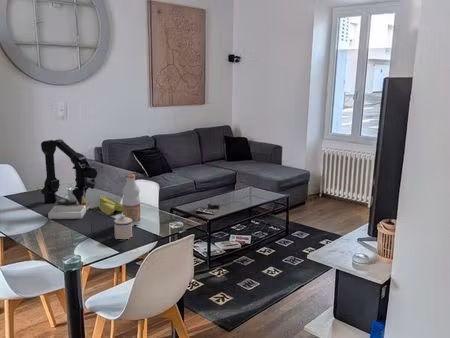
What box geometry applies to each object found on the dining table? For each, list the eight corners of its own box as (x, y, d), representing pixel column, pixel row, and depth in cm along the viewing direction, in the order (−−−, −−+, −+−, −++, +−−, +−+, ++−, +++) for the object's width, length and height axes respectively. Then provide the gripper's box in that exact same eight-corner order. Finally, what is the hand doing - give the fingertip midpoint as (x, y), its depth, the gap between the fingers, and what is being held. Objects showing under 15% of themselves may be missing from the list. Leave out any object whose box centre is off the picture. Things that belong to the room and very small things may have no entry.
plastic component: (128, 208, 244) (114, 204, 236) (123, 219, 243) (109, 216, 236) (111, 198, 257) (97, 194, 250) (106, 209, 257) (93, 205, 249)
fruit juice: (119, 224, 224) (118, 175, 218) (132, 219, 231) (131, 172, 225) (131, 228, 219) (129, 178, 212) (144, 223, 226) (143, 174, 220)
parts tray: (48, 218, 228) (48, 213, 227) (54, 211, 240) (54, 206, 239) (81, 218, 230) (81, 212, 230) (86, 211, 242) (85, 206, 241)
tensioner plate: (55, 210, 242) (55, 202, 241) (59, 206, 250) (59, 198, 248) (86, 210, 244) (86, 202, 243) (89, 206, 252) (89, 198, 250)
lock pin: (78, 209, 245) (77, 193, 243) (79, 207, 249) (79, 191, 247) (85, 209, 246) (84, 193, 243) (86, 207, 250) (85, 191, 247)
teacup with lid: (136, 237, 207) (135, 215, 204) (121, 242, 200) (120, 220, 197) (122, 231, 215) (122, 210, 212) (107, 235, 208) (106, 214, 205)
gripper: (91, 180, 235) (92, 206, 238) (97, 172, 253) (98, 196, 256) (71, 180, 233) (72, 206, 237) (79, 172, 251) (80, 196, 255)
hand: (82, 201), depth 246 cm, fingers open, 9 cm apart
